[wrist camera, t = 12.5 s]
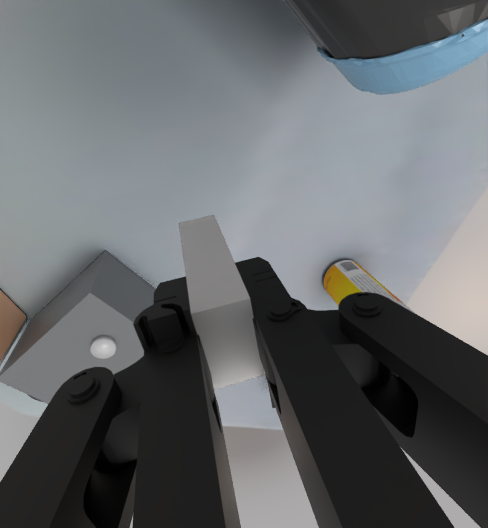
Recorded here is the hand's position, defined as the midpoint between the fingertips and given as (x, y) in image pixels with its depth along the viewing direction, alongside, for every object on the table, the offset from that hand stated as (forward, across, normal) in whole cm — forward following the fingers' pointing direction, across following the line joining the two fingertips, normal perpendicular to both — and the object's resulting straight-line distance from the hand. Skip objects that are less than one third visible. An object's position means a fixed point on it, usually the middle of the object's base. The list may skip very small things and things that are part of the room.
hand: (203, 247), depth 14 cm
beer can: (+27, +19, -22) cm, 39 cm away
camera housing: (+26, -15, -17) cm, 35 cm away
